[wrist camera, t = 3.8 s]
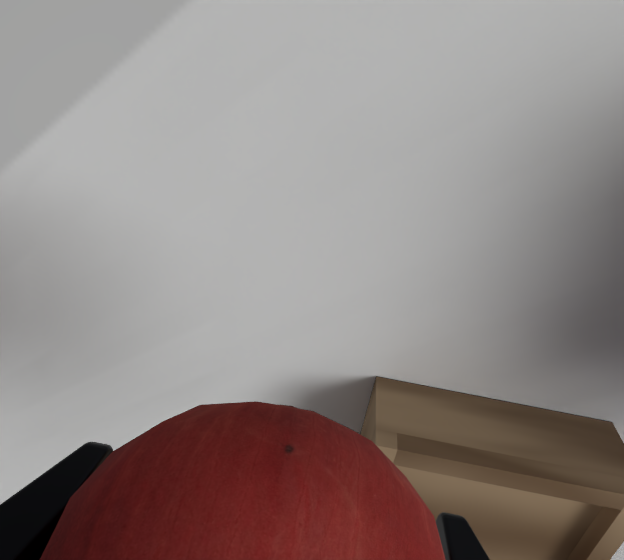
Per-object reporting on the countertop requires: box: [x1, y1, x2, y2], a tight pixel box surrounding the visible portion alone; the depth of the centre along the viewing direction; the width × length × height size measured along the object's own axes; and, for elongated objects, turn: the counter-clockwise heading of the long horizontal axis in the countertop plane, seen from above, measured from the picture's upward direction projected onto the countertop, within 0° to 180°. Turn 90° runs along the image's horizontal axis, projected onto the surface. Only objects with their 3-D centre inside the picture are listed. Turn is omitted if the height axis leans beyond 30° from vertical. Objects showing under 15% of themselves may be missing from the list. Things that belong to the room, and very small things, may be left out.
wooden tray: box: [360, 377, 624, 560], centre depth 22 cm, size 10×10×4 cm
